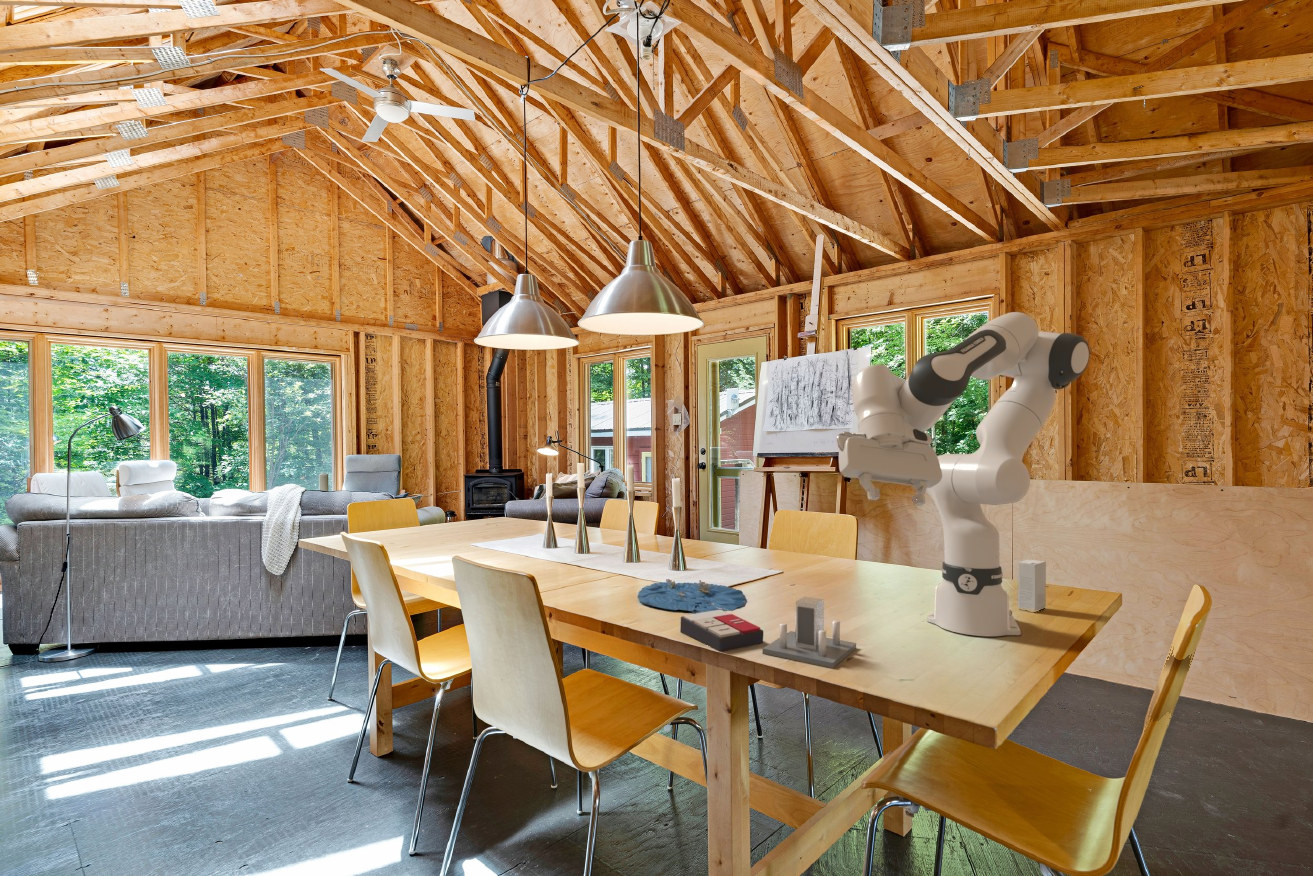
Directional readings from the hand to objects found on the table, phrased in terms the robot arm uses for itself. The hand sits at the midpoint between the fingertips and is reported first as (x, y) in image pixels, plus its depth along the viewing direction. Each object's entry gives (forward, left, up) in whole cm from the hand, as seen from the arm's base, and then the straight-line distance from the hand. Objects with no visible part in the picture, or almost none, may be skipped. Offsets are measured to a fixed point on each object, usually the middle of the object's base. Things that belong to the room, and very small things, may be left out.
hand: (897, 501), depth 114 cm
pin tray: (+1, -16, -30) cm, 35 cm away
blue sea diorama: (-22, -57, -31) cm, 69 cm away
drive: (+1, -16, -29) cm, 34 cm away
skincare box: (-61, +18, -31) cm, 70 cm away
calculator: (+4, -35, -31) cm, 47 cm away
